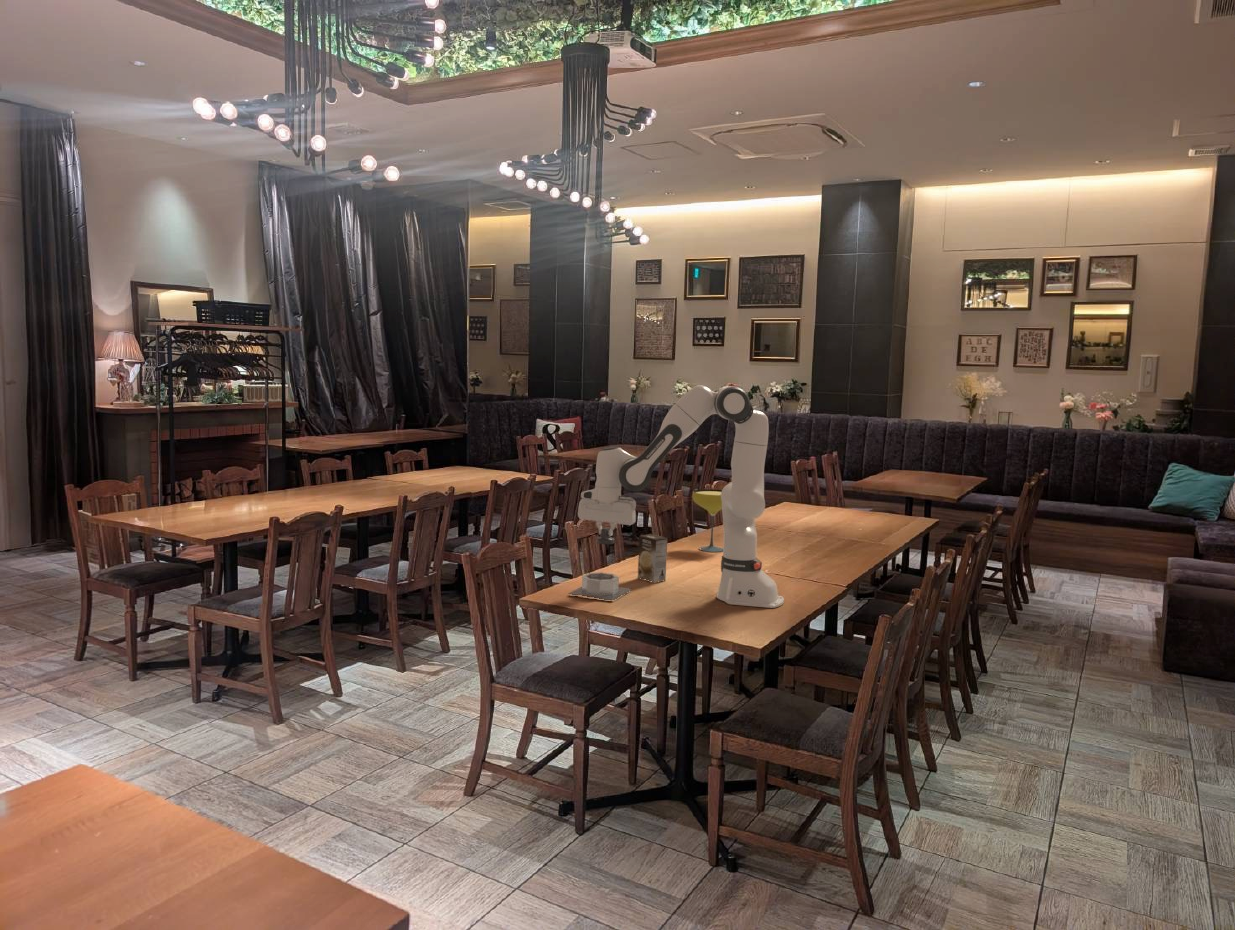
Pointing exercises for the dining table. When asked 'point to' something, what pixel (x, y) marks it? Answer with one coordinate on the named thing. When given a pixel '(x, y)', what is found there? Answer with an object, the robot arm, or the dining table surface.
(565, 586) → the dining table surface
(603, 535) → the cap
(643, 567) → the coffee box
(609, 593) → the octagonal nut on plate
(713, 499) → the cocktail glass
